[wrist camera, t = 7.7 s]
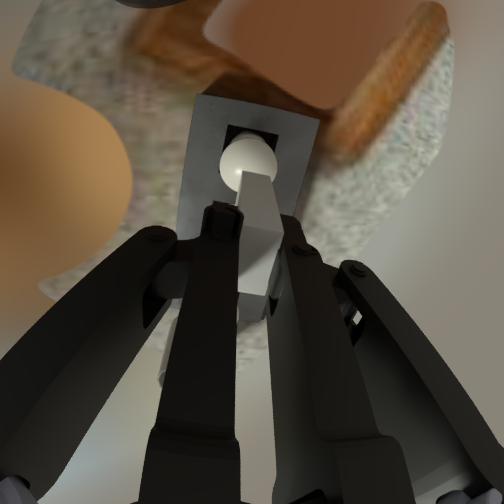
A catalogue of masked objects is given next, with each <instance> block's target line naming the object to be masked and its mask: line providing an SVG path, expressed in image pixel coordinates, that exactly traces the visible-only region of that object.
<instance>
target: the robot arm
mask: <svg viewBox="0 0 504 504" xmlns="http://www.w3.org/2000/svg"><path fill="white" fill-rule="evenodd" d="M116 1H117V2H119V3H121V4H123V5H126V6H130V7H135V8H159V7H165V6H169V5H173V4H176V3H179V2H182V1H185V0H116ZM268 286H269V294H268V297H267V300H266V304H265V307H264V310H263V313H262V316H261V320H264V317H265V315H266V317H267V331H268V345H269V359H270V374H271V389H272V403H273V420H274V436H275V450H276V469H277V475H276V481H275V484H274V487H273V492H272V504H504V448H503V447H502V446H501V445H500V444H499V443H498V441H497V439H496V438H495V436H494V434H493V433H492V431H491V430H490V428H489V426H488V425H487V423H486V422H485V420H484V418H483V417H482V415H481V414H480V412H479V411H478V409H477V407H476V406H475V405H474V403H473V401H472V400H471V399H470V397H469V395H468V394H467V393H466V391H465V390H464V388H463V387H462V385H461V384H460V382H459V381H458V380H457V378H456V377H455V375H454V374H453V372H452V371H451V370H450V368H449V367H448V365H447V364H446V363H445V362H444V360H443V359H442V357H441V356H440V355H439V353H438V352H437V351H436V349H435V348H434V346H433V345H432V344H431V343H430V341H429V340H428V339H427V337H426V336H425V335H424V333H423V332H422V331H421V330H420V328H419V327H418V326H417V324H416V323H415V322H414V321H413V319H412V318H411V317H410V316H409V314H408V313H407V312H406V311H405V309H404V308H403V307H402V306H401V305H400V303H399V302H398V301H397V300H396V299H395V297H394V296H393V295H392V294H391V292H390V291H389V290H388V289H387V288H386V287H385V285H384V284H383V283H382V282H381V281H380V280H379V278H378V277H377V276H376V275H375V274H374V273H373V271H372V270H371V269H369V268H368V267H367V266H366V265H364V264H363V263H361V262H358V261H356V260H344V261H343V262H341V265H340V267H339V269H338V268H336V267H333V266H330V265H328V264H325V263H323V261H322V258H321V255H320V253H319V252H318V250H317V249H316V248H314V247H313V246H311V245H309V244H307V241H306V238H305V236H304V234H303V230H302V227H301V224H300V222H299V221H298V220H297V219H296V218H295V217H294V216H289V215H284V214H280V213H279V209H278V205H277V201H276V197H275V193H274V189H273V185H272V181H271V177H270V176H268V175H263V174H258V173H253V172H248V171H243V170H242V175H241V179H240V184H239V188H238V193H237V198H236V203H235V206H234V205H228V204H223V203H217V202H215V203H214V204H212V205H210V206H207V207H206V208H205V209H204V213H203V220H202V226H201V232H200V236H198V237H196V238H194V239H188V240H178V237H177V234H176V233H175V232H174V231H173V230H171V229H169V228H167V227H162V226H158V225H157V226H156V225H155V226H149V227H145V228H143V229H141V230H139V231H138V232H137V233H136V234H134V235H133V236H132V237H131V238H129V239H128V240H127V241H126V242H125V243H123V244H122V245H121V246H120V247H119V248H117V249H116V250H115V251H114V252H113V253H111V254H110V255H109V256H108V257H107V258H105V259H104V260H103V261H102V262H101V263H100V264H98V265H97V266H96V267H95V268H94V269H93V270H92V271H90V272H89V273H88V274H87V275H86V276H85V277H84V278H83V279H81V280H80V281H79V282H78V283H77V284H76V285H75V286H74V287H73V288H72V289H70V290H69V291H68V292H67V293H66V294H65V295H64V296H63V297H62V298H61V299H60V300H59V301H58V302H57V303H56V304H54V305H53V306H52V307H51V308H50V309H49V310H48V311H47V312H46V313H45V314H44V315H43V316H42V317H41V318H40V319H39V320H38V321H37V322H36V323H35V324H34V325H33V326H32V327H31V328H30V329H29V330H28V331H27V332H26V334H24V335H23V336H22V337H21V338H20V340H19V341H18V342H17V343H16V344H15V345H14V346H13V347H12V348H11V349H10V350H9V351H8V352H7V353H6V354H5V356H4V357H3V358H2V359H1V360H0V504H38V503H37V501H38V500H39V499H40V498H42V497H43V496H44V495H45V494H46V493H47V492H48V491H49V489H50V488H51V487H52V486H53V485H54V484H55V482H56V481H57V479H58V478H59V476H60V475H61V473H62V472H63V471H64V469H65V467H66V466H67V464H68V462H69V461H70V459H71V457H72V456H73V454H74V452H75V451H76V449H77V447H78V445H79V444H80V442H81V441H82V439H83V437H84V436H85V434H86V433H87V431H88V429H89V428H90V426H91V424H92V423H93V421H94V420H95V418H96V417H97V415H98V413H99V412H100V410H101V409H102V407H103V405H104V404H105V402H106V401H107V399H108V398H109V396H110V395H111V393H112V392H113V390H114V388H115V387H116V385H117V384H118V382H119V381H120V379H121V378H122V376H123V375H124V373H125V372H126V370H127V369H128V367H129V365H130V364H131V363H132V361H133V360H134V358H135V357H136V355H137V354H138V352H139V351H140V349H141V347H142V346H143V345H144V343H145V342H146V340H147V339H148V337H149V336H150V334H151V333H152V331H153V330H154V328H155V327H156V326H157V324H158V323H159V321H160V320H161V318H162V317H163V315H164V314H165V313H166V311H167V310H168V308H169V307H170V305H171V303H172V300H173V299H180V298H183V299H182V303H181V307H180V312H179V316H178V320H177V324H176V328H175V332H174V337H173V341H172V345H171V350H170V354H169V359H168V363H167V368H166V373H165V377H164V382H163V387H162V392H161V398H160V402H159V407H158V412H157V417H156V422H155V425H154V427H153V428H152V429H151V432H150V435H149V439H148V443H147V448H146V454H145V461H144V466H143V472H142V478H141V485H140V492H139V499H138V501H137V502H134V503H131V504H250V503H245V502H242V501H241V500H240V499H241V496H240V495H241V494H240V447H239V442H238V441H237V439H236V438H235V429H234V426H235V376H236V335H237V300H238V292H243V293H249V294H256V295H262V296H265V294H266V290H267V287H268ZM357 311H359V312H360V314H361V315H362V318H361V320H360V321H359V323H358V324H357V325H356V324H355V322H354V321H353V318H354V316H355V315H356V313H357Z"/></svg>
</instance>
